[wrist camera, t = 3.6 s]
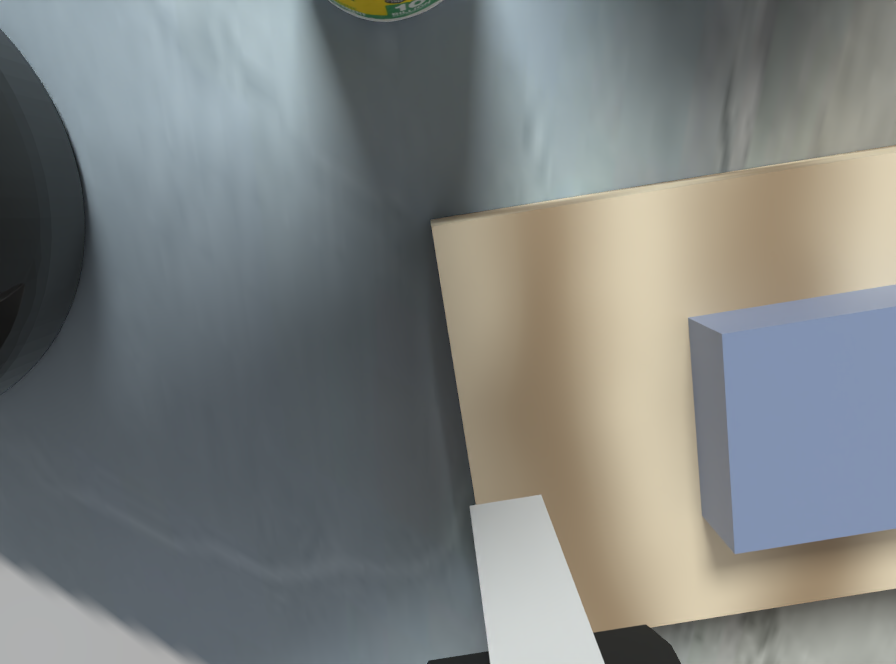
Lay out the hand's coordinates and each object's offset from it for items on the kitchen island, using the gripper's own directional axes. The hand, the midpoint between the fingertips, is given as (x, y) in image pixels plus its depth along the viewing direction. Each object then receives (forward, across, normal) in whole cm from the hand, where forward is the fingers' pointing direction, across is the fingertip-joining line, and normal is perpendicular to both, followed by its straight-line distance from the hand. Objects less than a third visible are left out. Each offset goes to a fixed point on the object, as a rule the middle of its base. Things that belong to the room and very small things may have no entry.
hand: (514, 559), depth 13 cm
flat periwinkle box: (+5, +10, 0) cm, 11 cm away
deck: (+9, +8, 0) cm, 12 cm away
